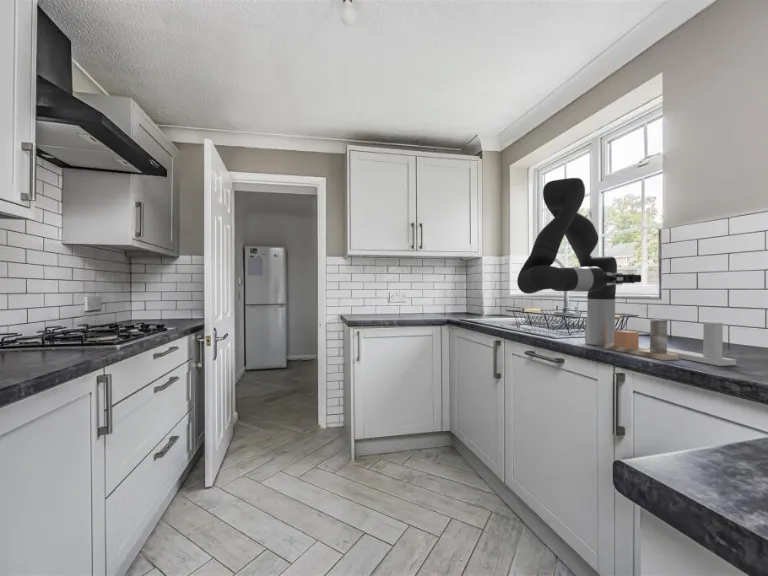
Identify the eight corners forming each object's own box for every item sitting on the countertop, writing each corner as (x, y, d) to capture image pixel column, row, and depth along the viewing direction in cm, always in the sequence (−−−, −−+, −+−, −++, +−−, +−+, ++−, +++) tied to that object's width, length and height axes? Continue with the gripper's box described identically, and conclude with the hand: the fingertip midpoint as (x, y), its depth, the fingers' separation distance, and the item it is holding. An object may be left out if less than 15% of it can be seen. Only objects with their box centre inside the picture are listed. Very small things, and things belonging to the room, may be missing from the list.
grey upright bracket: (648, 352, 128) (648, 317, 128) (663, 351, 130) (663, 317, 130) (719, 365, 107) (719, 324, 107) (736, 365, 108) (736, 323, 108)
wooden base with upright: (604, 348, 136) (605, 315, 136) (618, 347, 138) (619, 315, 138) (662, 360, 115) (662, 321, 115) (678, 359, 116) (679, 321, 116)
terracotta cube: (613, 345, 133) (614, 330, 133) (626, 344, 134) (626, 330, 134) (625, 347, 128) (626, 332, 128) (638, 347, 129) (638, 332, 129)
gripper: (601, 265, 109) (648, 265, 113) (566, 267, 123) (610, 267, 126) (601, 292, 109) (648, 291, 113) (566, 290, 123) (609, 289, 127)
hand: (628, 278), depth 120 cm, fingers open, 8 cm apart
